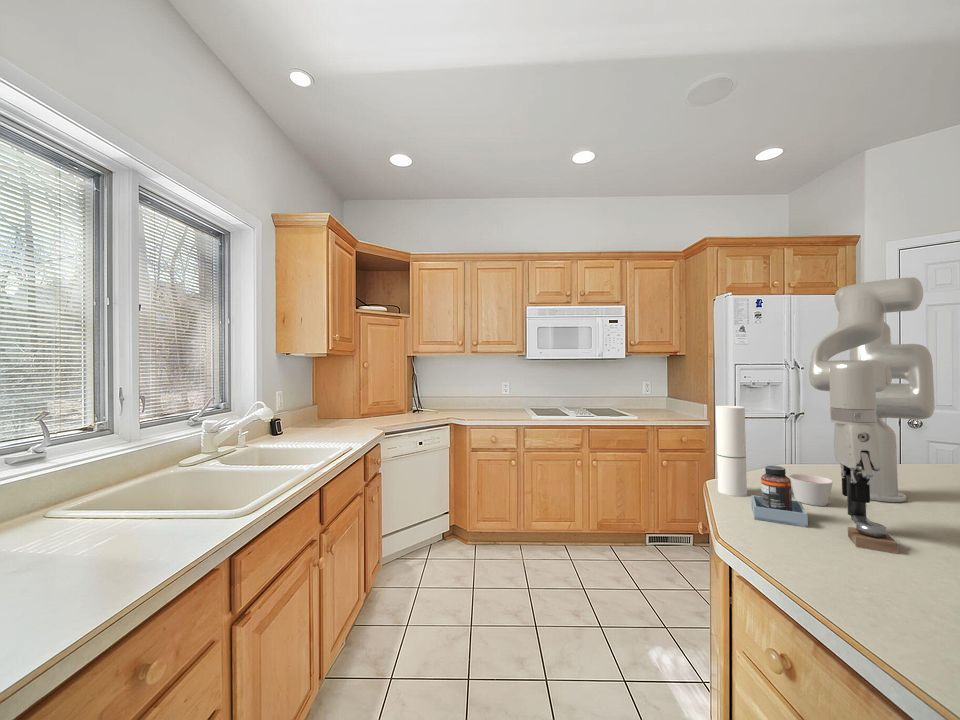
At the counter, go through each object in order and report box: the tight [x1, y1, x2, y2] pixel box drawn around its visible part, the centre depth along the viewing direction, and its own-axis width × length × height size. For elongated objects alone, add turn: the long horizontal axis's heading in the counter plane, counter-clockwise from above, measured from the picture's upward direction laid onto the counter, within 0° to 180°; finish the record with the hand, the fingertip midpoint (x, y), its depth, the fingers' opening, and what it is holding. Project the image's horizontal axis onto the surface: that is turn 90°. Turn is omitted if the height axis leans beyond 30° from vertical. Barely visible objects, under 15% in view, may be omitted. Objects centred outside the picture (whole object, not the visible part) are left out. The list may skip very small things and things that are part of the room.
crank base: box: [847, 526, 899, 555], centre depth 81 cm, size 6×6×2 cm
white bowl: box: [788, 473, 834, 507], centre depth 106 cm, size 9×9×6 cm
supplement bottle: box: [760, 465, 793, 511], centre depth 97 cm, size 6×6×11 cm
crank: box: [846, 475, 887, 537], centre depth 84 cm, size 11×4×10 cm, turn 152°
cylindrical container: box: [715, 405, 748, 497], centre depth 115 cm, size 7×7×25 cm
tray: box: [750, 494, 809, 528], centre depth 97 cm, size 10×10×3 cm
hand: (855, 498), depth 88 cm, fingers closed on crank, 3 cm apart
